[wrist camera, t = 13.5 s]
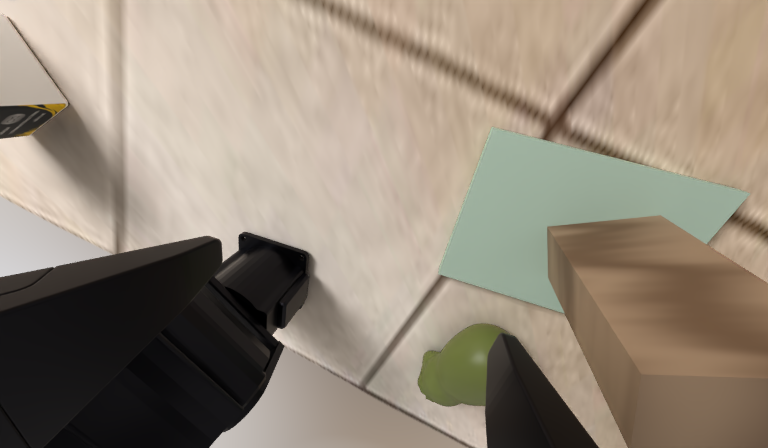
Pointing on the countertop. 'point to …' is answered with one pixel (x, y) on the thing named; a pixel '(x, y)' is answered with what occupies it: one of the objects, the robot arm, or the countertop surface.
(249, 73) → the countertop surface
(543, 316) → the countertop surface
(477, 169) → the mat
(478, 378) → the pear
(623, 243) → the block
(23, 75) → the medicine bottle
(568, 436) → the robot arm
